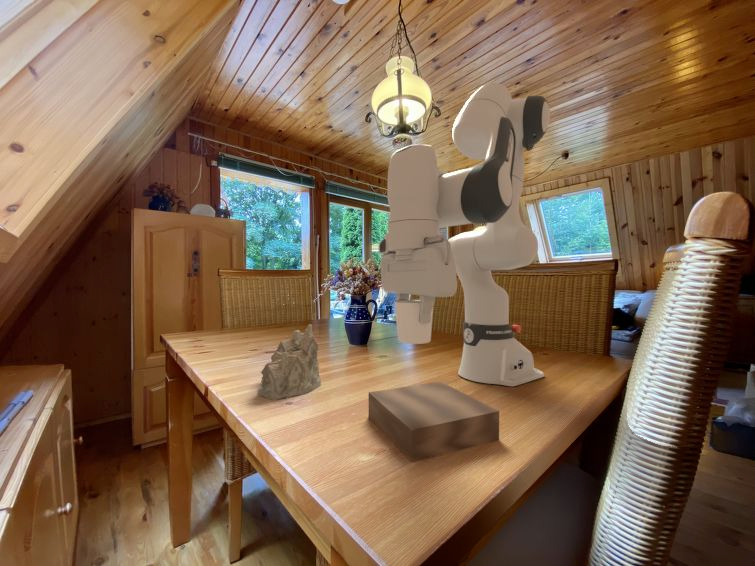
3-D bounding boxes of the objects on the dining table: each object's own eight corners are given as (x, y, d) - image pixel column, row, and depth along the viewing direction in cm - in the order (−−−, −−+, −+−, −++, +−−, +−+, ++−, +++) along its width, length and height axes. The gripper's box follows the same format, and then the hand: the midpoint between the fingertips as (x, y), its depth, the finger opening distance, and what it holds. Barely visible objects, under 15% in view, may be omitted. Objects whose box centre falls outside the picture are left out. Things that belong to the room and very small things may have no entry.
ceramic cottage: (298, 370, 87) (296, 317, 86) (333, 387, 76) (331, 326, 74) (241, 387, 77) (238, 326, 75) (271, 410, 65) (268, 338, 64)
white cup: (433, 345, 51) (433, 302, 51) (391, 344, 52) (391, 301, 52) (434, 337, 57) (434, 299, 57) (397, 336, 59) (396, 299, 59)
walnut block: (440, 405, 65) (440, 381, 65) (499, 442, 50) (499, 411, 50) (368, 419, 58) (368, 392, 58) (411, 465, 44) (411, 429, 44)
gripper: (467, 233, 46) (467, 327, 46) (403, 246, 65) (403, 313, 65) (430, 232, 44) (431, 331, 44) (374, 246, 63) (375, 315, 63)
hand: (414, 320), depth 55 cm, fingers closed on white cup, 5 cm apart
